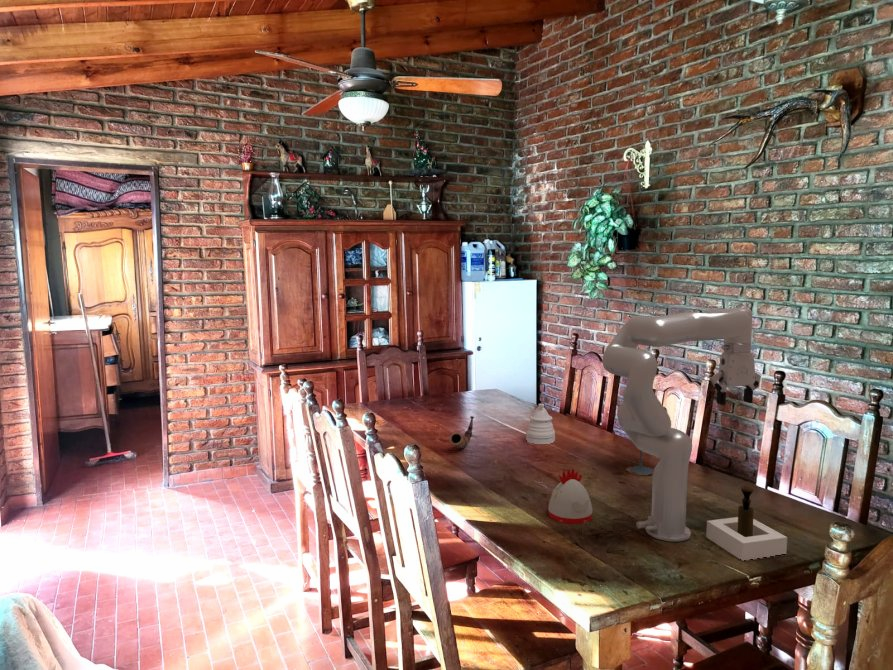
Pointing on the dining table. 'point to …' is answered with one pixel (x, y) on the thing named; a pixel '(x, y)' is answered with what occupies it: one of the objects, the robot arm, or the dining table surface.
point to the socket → (746, 539)
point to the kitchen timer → (570, 500)
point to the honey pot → (540, 427)
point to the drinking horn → (462, 441)
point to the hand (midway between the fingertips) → (734, 403)
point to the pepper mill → (745, 512)
